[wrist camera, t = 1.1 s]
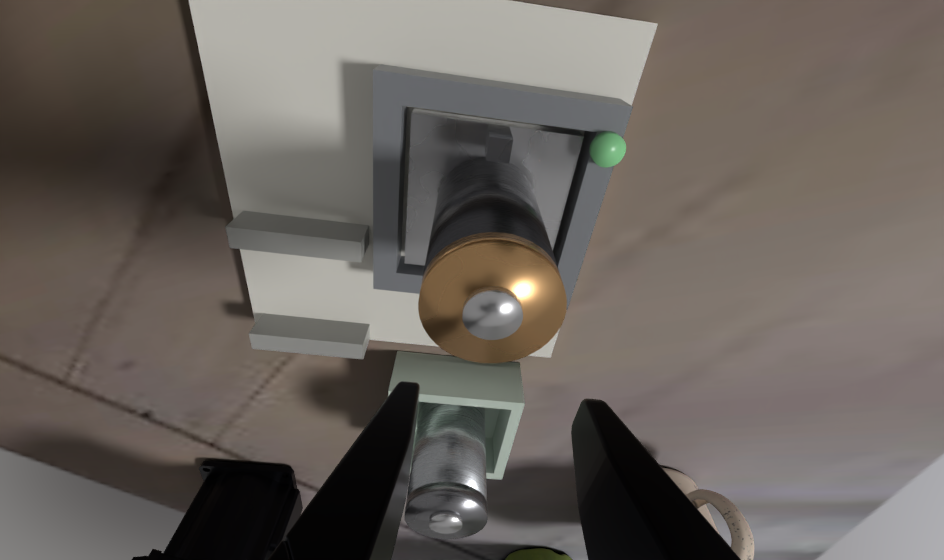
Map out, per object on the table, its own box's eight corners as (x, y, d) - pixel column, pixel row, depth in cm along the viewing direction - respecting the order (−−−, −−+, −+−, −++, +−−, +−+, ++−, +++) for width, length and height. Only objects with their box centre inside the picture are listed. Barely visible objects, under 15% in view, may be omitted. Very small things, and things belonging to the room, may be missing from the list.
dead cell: (418, 422, 27) (402, 542, 21) (422, 378, 25) (405, 499, 19) (479, 427, 27) (481, 548, 21) (489, 385, 25) (493, 506, 19)
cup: (394, 428, 28) (386, 470, 25) (397, 350, 24) (388, 391, 21) (499, 437, 28) (501, 479, 26) (519, 362, 24) (524, 403, 22)
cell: (433, 242, 18) (412, 364, 12) (441, 150, 16) (421, 242, 10) (524, 253, 18) (549, 376, 12) (545, 164, 16) (587, 261, 10)
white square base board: (262, 318, 23) (239, 353, 20) (191, -50, 14) (137, -60, 12) (548, 347, 24) (555, 383, 22) (649, 22, 15) (680, 25, 13)
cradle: (406, 254, 19) (398, 286, 17) (413, 108, 16) (404, 124, 13) (542, 269, 20) (551, 302, 17) (579, 131, 16) (595, 150, 14)
